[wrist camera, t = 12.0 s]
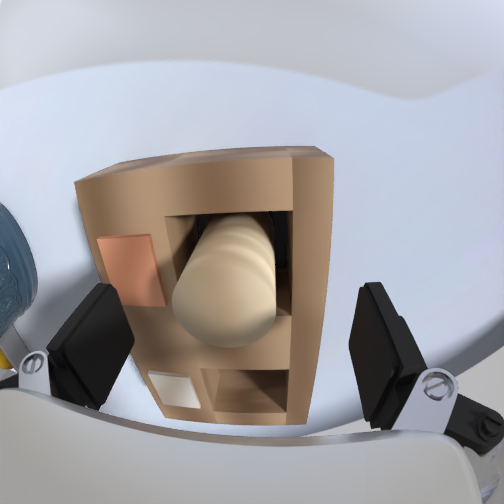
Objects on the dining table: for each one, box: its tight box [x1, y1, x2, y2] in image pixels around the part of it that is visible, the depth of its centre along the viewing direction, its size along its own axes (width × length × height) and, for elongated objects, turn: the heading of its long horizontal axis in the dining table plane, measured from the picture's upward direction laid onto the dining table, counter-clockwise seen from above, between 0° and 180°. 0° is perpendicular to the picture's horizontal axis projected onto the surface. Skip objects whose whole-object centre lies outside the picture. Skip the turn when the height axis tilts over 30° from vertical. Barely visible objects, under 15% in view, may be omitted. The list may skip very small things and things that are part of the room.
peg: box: [172, 211, 276, 348], centre depth 14 cm, size 4×4×8 cm
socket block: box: [74, 146, 334, 425], centre depth 18 cm, size 12×20×5 cm, turn 3°
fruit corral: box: [0, 324, 29, 381], centre depth 27 cm, size 15×14×4 cm
